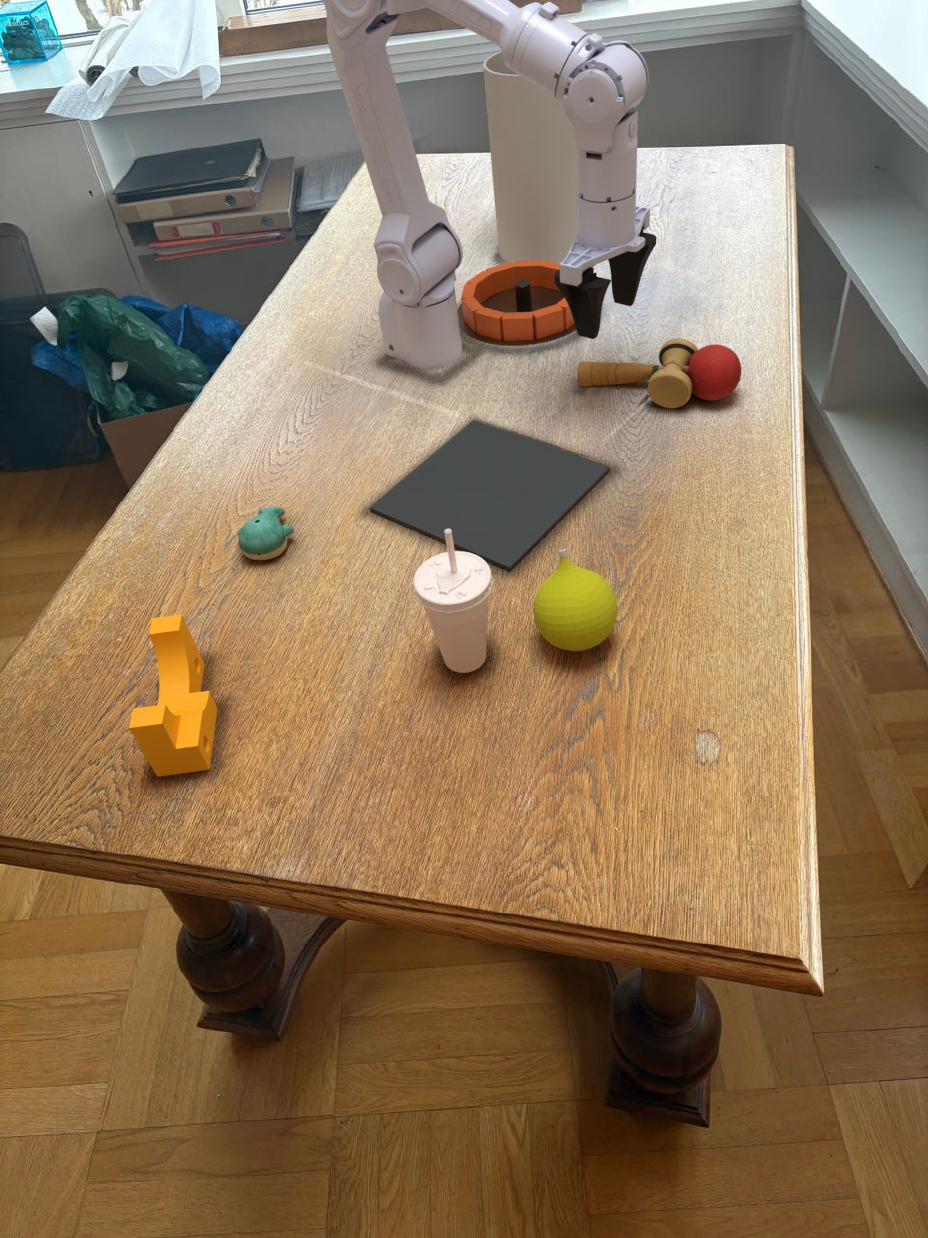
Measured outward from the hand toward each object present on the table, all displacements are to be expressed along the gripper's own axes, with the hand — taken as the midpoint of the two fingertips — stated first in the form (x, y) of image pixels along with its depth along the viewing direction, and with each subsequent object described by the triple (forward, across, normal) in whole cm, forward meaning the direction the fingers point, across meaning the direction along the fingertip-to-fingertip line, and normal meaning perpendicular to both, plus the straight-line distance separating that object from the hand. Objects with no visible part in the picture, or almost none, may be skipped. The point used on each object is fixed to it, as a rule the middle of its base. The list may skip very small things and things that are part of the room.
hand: (606, 319), depth 102 cm
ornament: (+10, -34, -17) cm, 39 cm away
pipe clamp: (+10, -58, +7) cm, 60 cm away
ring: (+9, +12, +19) cm, 24 cm away
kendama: (+10, +3, -5) cm, 11 cm away
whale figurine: (+10, -38, +17) cm, 43 cm away
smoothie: (+10, -41, -10) cm, 43 cm away
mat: (+10, -20, +2) cm, 23 cm away
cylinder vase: (+10, +28, +27) cm, 40 cm away
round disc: (+10, +12, +19) cm, 25 cm away
